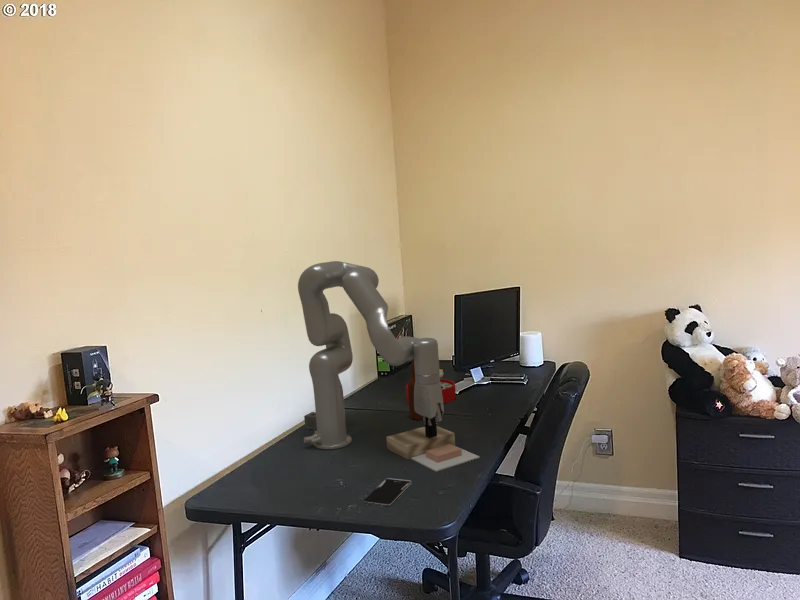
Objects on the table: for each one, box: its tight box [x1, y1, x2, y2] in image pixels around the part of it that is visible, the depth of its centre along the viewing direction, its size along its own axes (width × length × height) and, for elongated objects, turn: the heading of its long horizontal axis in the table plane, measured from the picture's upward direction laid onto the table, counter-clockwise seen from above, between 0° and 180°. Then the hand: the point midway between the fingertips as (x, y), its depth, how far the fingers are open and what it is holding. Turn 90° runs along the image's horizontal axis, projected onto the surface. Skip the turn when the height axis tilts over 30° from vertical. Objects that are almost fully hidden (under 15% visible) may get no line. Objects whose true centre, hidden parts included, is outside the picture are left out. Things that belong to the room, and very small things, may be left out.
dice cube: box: [303, 411, 317, 431], centre depth 226 cm, size 5×5×5 cm
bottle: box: [407, 359, 423, 421], centre depth 229 cm, size 7×7×25 cm
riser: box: [385, 425, 456, 460], centre depth 199 cm, size 18×12×4 cm, turn 122°
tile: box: [426, 444, 463, 463], centre depth 189 cm, size 9×6×2 cm, turn 122°
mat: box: [411, 445, 481, 473], centre depth 188 cm, size 16×13×1 cm
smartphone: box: [363, 477, 412, 505], centre depth 166 cm, size 8×1×15 cm
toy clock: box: [405, 378, 457, 404], centre depth 255 cm, size 20×6×20 cm
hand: (431, 436), depth 193 cm, fingers closed
